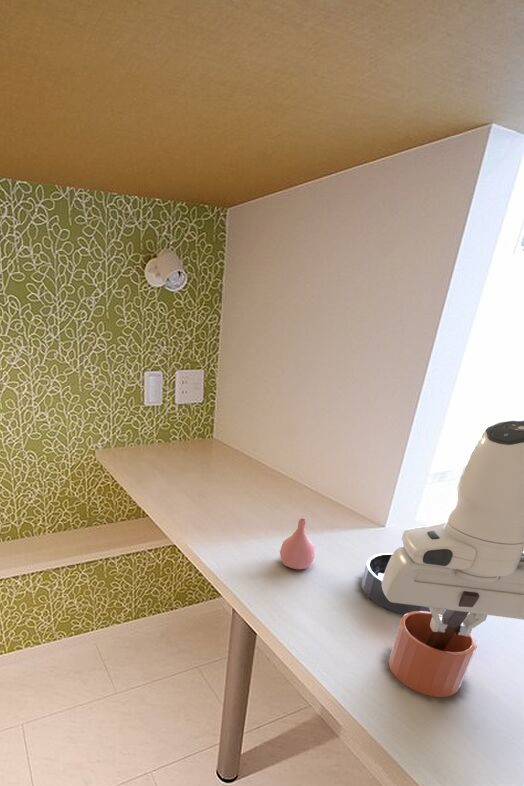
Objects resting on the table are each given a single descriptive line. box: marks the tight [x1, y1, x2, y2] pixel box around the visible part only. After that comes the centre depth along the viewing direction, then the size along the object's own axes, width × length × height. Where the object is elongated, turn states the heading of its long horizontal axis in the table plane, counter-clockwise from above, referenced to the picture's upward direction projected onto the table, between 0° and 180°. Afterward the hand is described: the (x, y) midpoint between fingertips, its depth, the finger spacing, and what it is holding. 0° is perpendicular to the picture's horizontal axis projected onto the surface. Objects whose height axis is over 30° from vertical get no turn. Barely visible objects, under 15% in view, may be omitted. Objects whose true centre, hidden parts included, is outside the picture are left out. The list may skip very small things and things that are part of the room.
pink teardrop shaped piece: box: [279, 517, 316, 570], centre depth 98 cm, size 8×8×12 cm
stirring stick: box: [425, 591, 479, 651], centre depth 64 cm, size 2×2×18 cm
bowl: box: [360, 552, 430, 615], centre depth 89 cm, size 15×15×6 cm
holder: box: [388, 611, 478, 698], centre depth 68 cm, size 10×10×9 cm
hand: (448, 631), depth 63 cm, fingers closed on stirring stick, 2 cm apart
